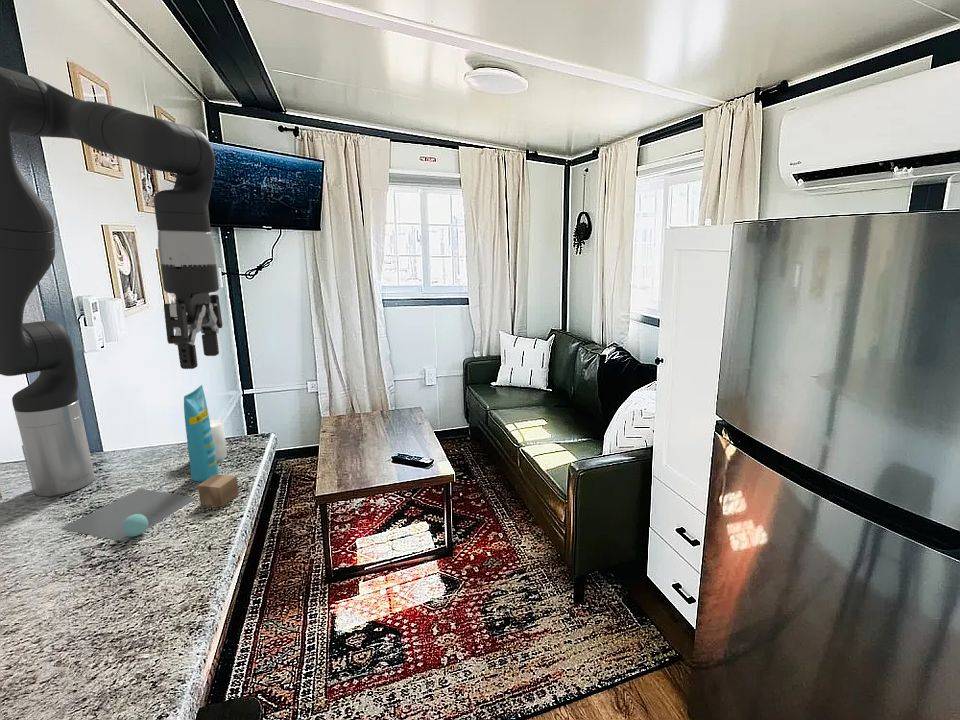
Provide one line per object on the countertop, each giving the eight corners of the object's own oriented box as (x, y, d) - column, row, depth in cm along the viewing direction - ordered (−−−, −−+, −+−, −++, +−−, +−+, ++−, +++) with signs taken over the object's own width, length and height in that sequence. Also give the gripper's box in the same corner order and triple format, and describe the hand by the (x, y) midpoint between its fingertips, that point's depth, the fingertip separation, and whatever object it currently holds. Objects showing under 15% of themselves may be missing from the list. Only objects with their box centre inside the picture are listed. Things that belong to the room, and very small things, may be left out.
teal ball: (118, 539, 75) (114, 520, 74) (138, 527, 78) (135, 508, 78) (135, 542, 74) (131, 523, 73) (155, 530, 77) (151, 511, 77)
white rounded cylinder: (184, 462, 104) (179, 429, 102) (210, 450, 110) (205, 418, 108) (210, 466, 102) (205, 432, 100) (234, 453, 108) (230, 421, 107)
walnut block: (197, 485, 85) (219, 487, 84) (215, 474, 89) (236, 476, 88) (201, 507, 86) (222, 509, 85) (218, 495, 90) (239, 497, 89)
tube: (212, 484, 94) (199, 394, 89) (186, 487, 93) (171, 396, 88) (223, 468, 101) (212, 384, 96) (199, 470, 100) (186, 385, 95)
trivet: (61, 531, 78) (61, 528, 78) (140, 491, 91) (140, 488, 91) (125, 545, 75) (125, 541, 74) (198, 500, 88) (197, 498, 88)
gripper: (184, 259, 79) (195, 352, 83) (136, 262, 65) (153, 373, 69) (231, 260, 80) (240, 351, 84) (194, 264, 66) (207, 372, 70)
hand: (201, 361), depth 76 cm, fingers open, 8 cm apart
